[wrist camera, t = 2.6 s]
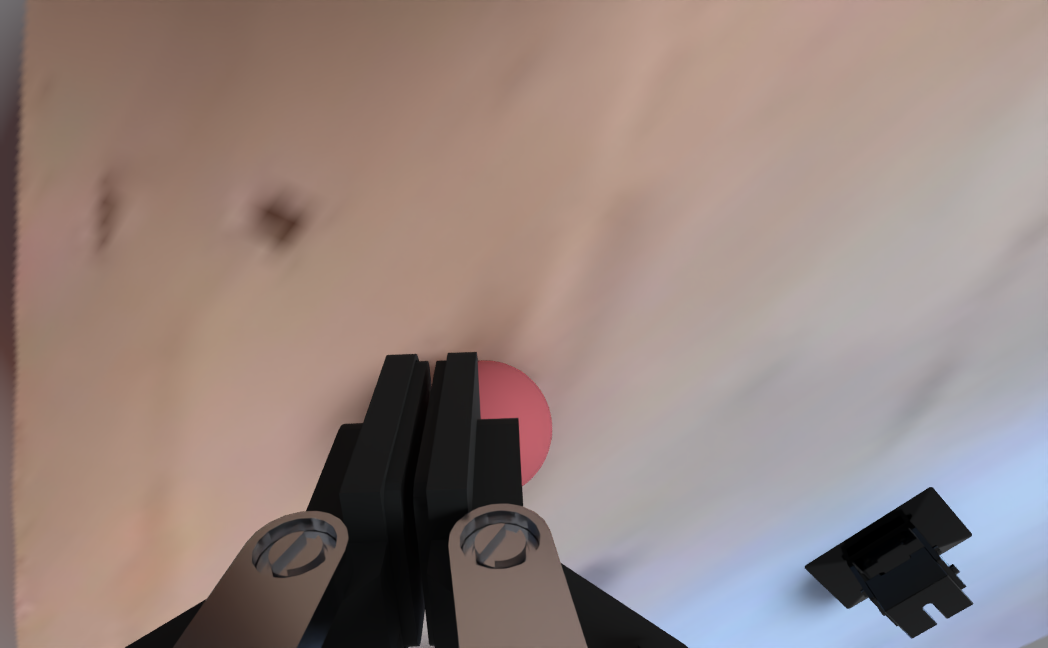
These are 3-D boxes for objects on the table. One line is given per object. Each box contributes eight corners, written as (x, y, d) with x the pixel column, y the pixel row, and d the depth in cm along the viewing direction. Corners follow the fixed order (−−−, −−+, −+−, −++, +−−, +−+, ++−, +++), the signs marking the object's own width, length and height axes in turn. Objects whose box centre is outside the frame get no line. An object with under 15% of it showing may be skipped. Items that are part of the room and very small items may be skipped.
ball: (418, 339, 30) (399, 409, 24) (547, 335, 30) (557, 404, 24) (428, 446, 32) (413, 531, 27) (547, 442, 32) (557, 526, 27)
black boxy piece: (822, 627, 40) (859, 697, 36) (755, 565, 37) (787, 632, 33) (1008, 517, 36) (1073, 580, 32) (948, 441, 34) (1010, 499, 30)
